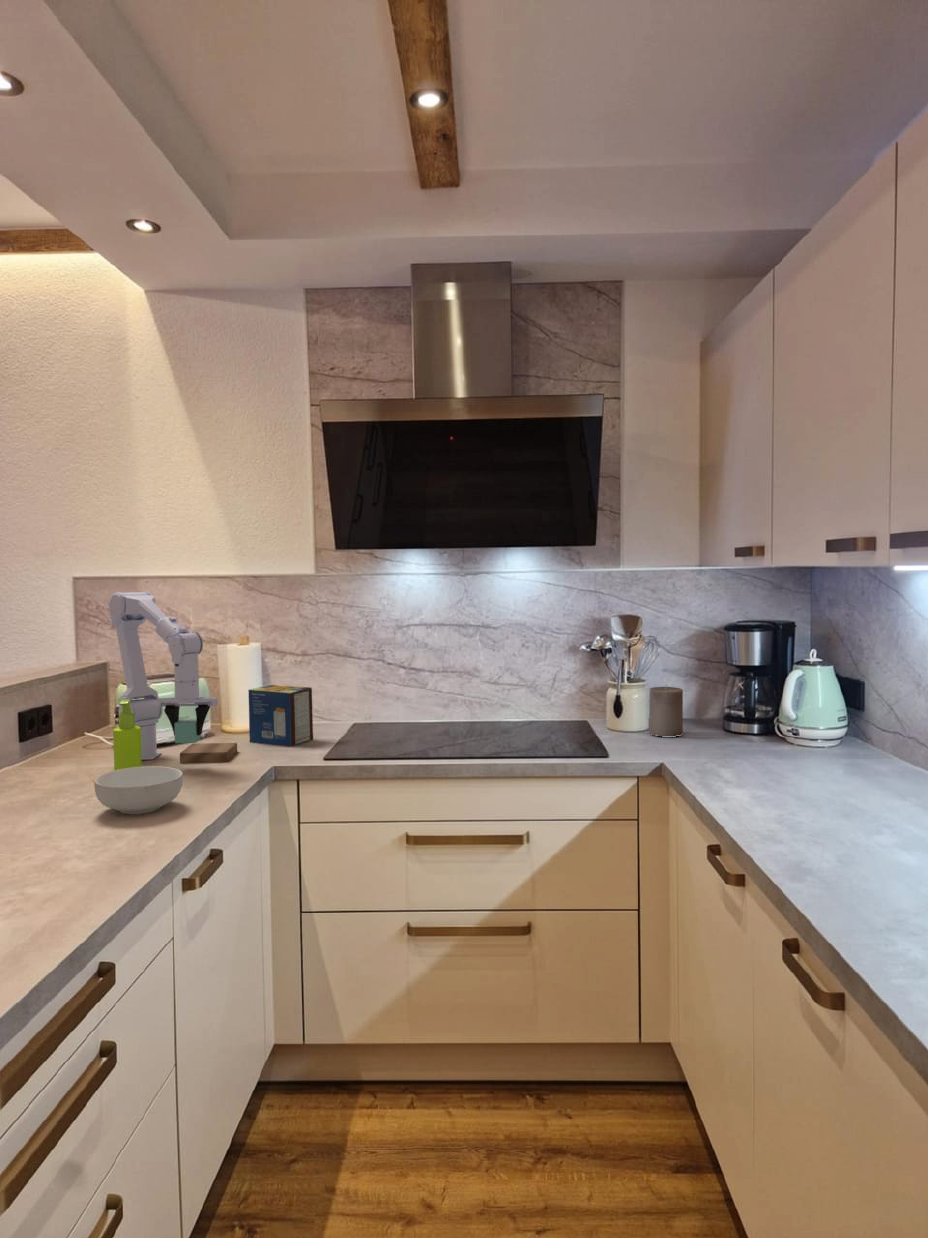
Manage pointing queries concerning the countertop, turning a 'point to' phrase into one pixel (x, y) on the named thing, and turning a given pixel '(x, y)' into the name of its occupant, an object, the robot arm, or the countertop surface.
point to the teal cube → (186, 731)
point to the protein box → (280, 715)
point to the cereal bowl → (138, 788)
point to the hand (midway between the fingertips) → (188, 734)
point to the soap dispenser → (127, 739)
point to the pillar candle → (666, 711)
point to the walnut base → (208, 752)
